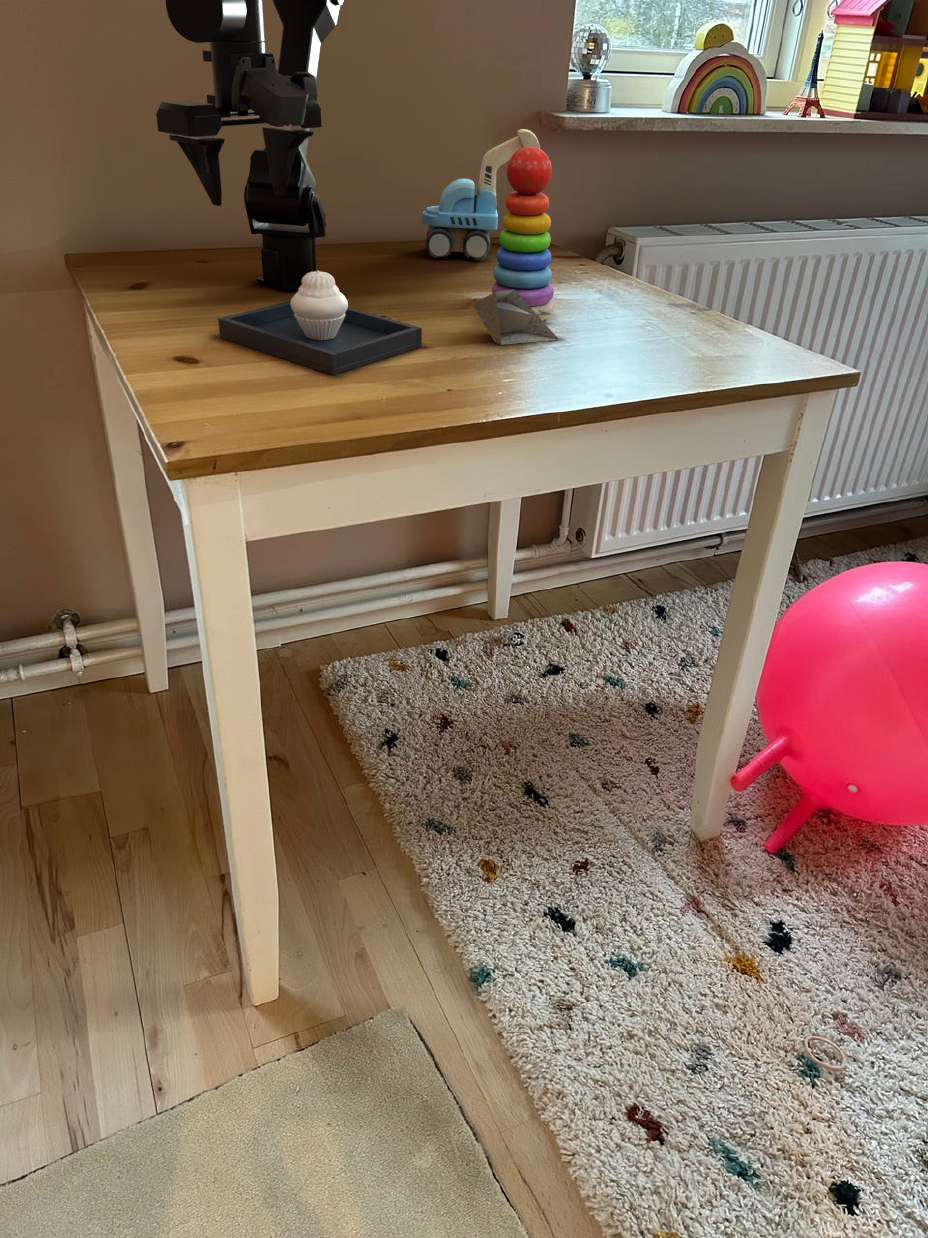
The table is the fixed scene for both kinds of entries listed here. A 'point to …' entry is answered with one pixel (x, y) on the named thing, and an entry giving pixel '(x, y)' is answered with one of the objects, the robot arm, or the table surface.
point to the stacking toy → (527, 232)
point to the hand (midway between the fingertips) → (249, 200)
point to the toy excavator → (471, 206)
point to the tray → (349, 349)
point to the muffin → (319, 306)
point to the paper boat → (512, 319)
